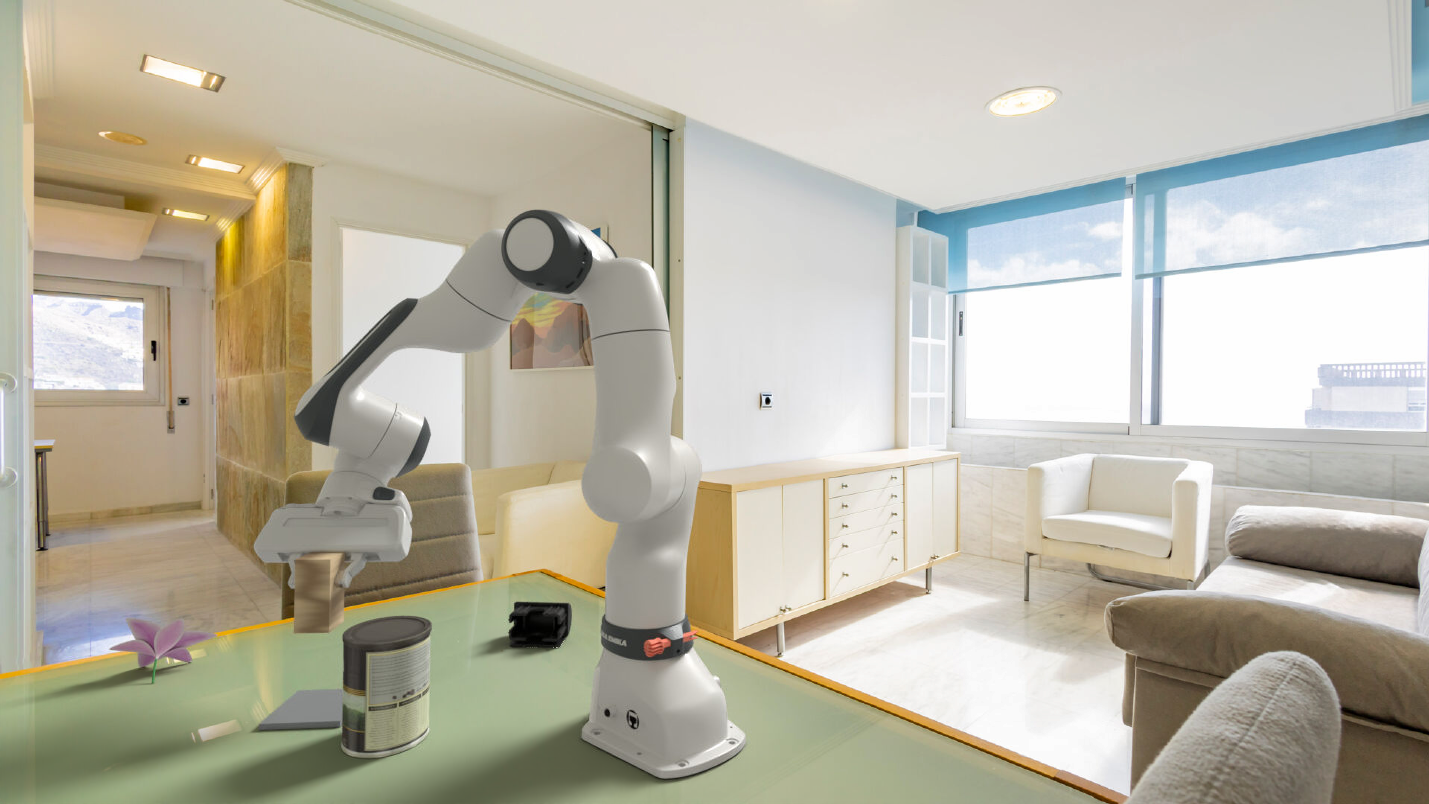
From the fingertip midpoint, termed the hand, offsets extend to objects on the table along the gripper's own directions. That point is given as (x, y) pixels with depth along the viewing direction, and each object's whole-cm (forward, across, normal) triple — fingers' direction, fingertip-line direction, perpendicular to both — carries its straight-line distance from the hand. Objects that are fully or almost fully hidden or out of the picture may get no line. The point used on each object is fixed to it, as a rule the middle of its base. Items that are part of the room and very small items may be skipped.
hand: (318, 586), depth 91 cm
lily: (+2, -30, +24) cm, 38 cm away
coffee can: (+18, +12, +7) cm, 23 cm away
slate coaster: (+12, 0, +13) cm, 17 cm away
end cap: (-6, +27, +31) cm, 41 cm away
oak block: (+4, 0, +5) cm, 6 cm away
